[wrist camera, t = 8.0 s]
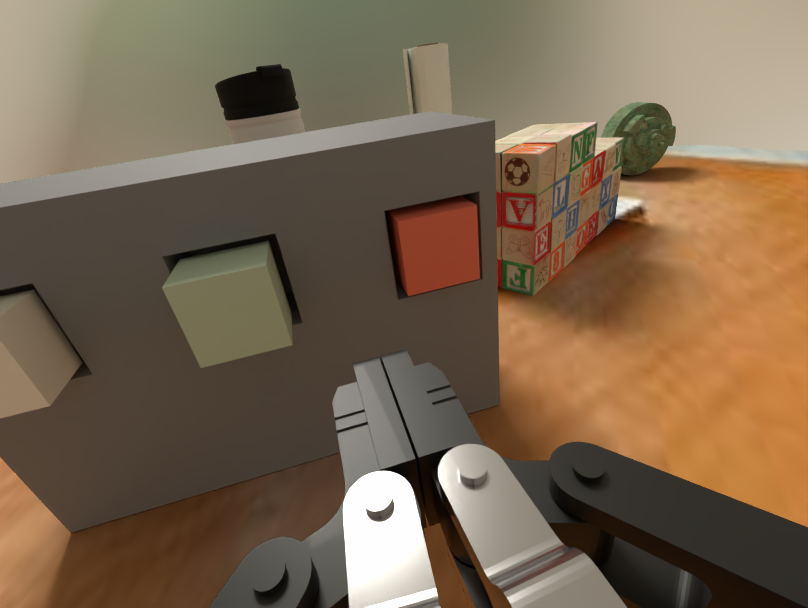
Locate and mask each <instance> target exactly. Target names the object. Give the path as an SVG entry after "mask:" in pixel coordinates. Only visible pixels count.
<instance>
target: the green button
mask: <svg viewBox="0 0 808 608" xmlns="http://www.w3.org/2000/svg"><path fill="white" fill-rule="evenodd" d="M162 289H163V291H164V293H165V295H166V297H167V299H168V301H169V303H170V306H171V308H172V310H173V312H174V314H175V316H176V318H177V320H178V322H179V324H180V326H181V328H182V330H183V332H184V334H185V336H186V339H187V341H188V343H189V345H190V347H191V349H192V351H193V353H194V355H195V357H196V359H197V361H198V363H199V365H200V367H201V368H204V367H208V366H212V365H216V364H220V363H224V362H228V361H232V360H235V359H239V358H243V357H247V356H251V355H255V354H259V353H263V352H267V351H271V350H275V349H279V348H283V347H287V346H291V345H293V344H292V313H291V309H290V306H289V303H288V300H287V297H286V294H285V290H284V287H283V284H282V281H281V278H280V275H279V271H278V268H277V265H276V262H275V259H274V256H273V252H272V249H271V246H270V243H269V241H265V242H260V243H255V244H250V245H245V246H241V247H236V248H231V249H226V250H221V251H217V252H212V253H207V254H202V255H197V256H193V257H188V258H183V259H180V260H179V261H178V263H177V264H176V266H175V268H174V269H173V271H172V272H171V274H170V276H169V277H168V279H167V280H166V282H165V284H164V285H163V287H162Z"/></svg>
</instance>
